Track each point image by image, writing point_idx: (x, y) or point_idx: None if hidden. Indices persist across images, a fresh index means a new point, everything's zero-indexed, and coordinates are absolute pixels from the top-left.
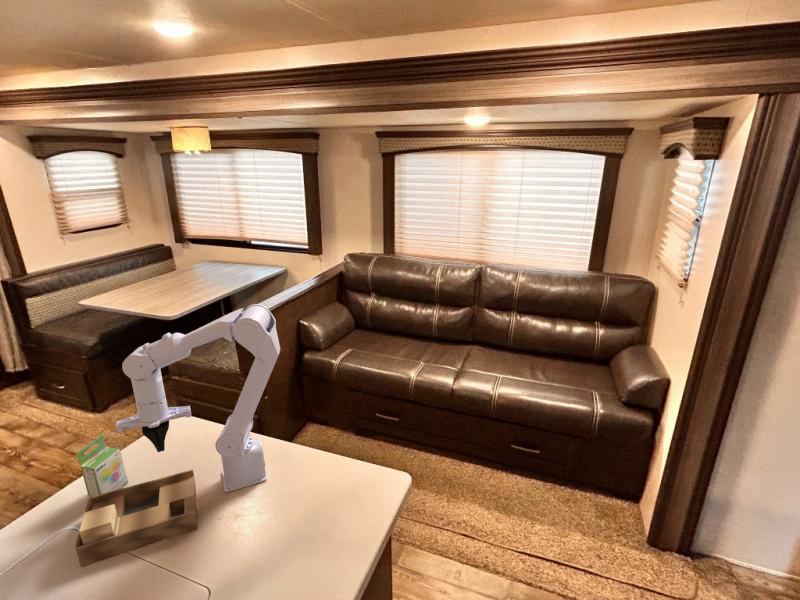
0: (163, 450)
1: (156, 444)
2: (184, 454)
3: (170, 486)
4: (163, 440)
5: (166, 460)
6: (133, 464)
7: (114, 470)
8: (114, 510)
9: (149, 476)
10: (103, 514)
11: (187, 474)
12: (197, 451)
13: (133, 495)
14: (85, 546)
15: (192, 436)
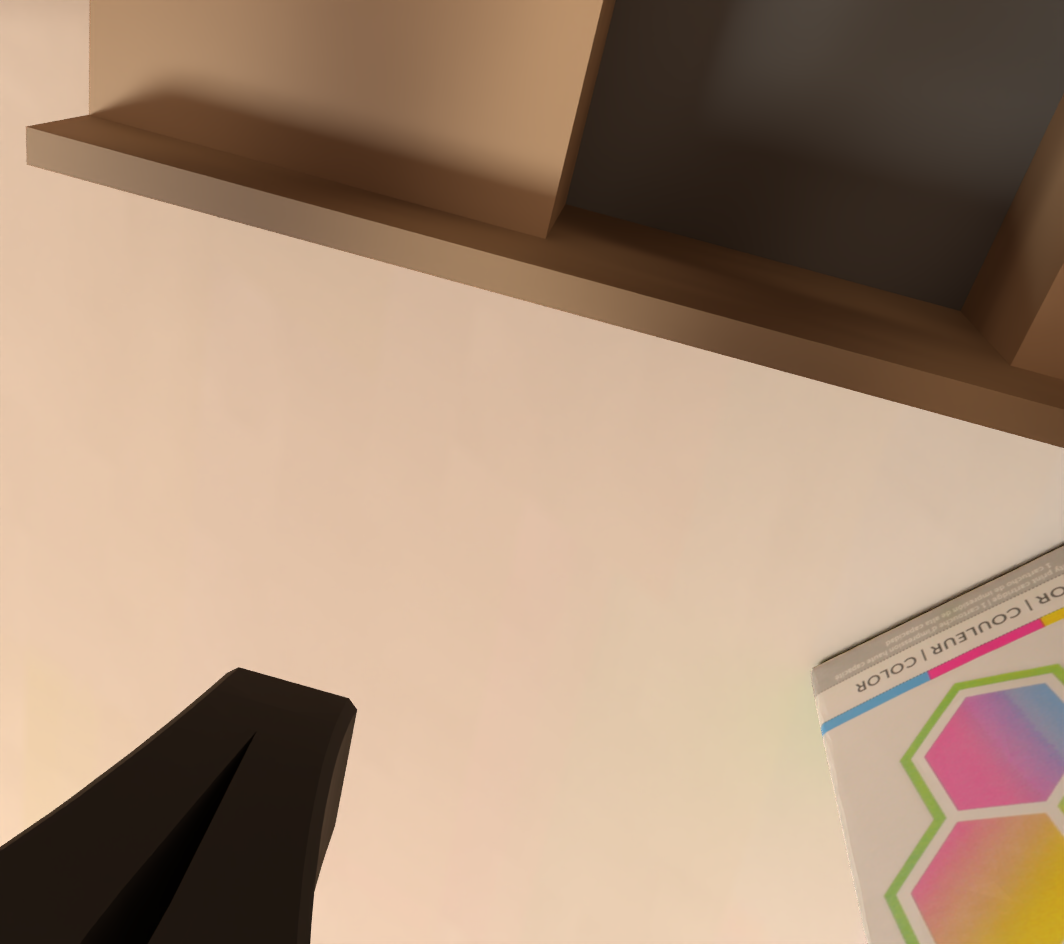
0: (236, 672)
1: (247, 859)
2: None
3: (420, 103)
4: (2, 868)
5: (417, 730)
6: (692, 865)
7: (1013, 831)
8: None
9: (609, 618)
10: None
11: (138, 144)
12: (128, 663)
13: (887, 317)
14: None
15: None
